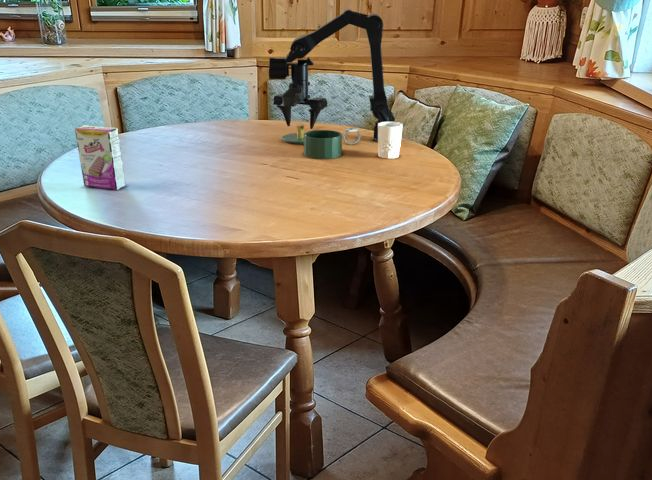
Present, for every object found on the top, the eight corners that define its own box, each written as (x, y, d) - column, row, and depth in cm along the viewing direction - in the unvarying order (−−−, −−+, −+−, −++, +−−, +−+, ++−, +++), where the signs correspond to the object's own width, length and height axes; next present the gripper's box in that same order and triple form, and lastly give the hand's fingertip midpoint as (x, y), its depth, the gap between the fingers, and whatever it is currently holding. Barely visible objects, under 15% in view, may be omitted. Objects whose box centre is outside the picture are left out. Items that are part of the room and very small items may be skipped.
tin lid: (325, 138, 257) (326, 123, 254) (307, 146, 247) (307, 131, 244) (293, 134, 262) (293, 120, 259) (274, 142, 252) (274, 127, 250)
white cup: (373, 157, 234) (374, 125, 229) (380, 152, 240) (382, 120, 235) (396, 160, 231) (398, 127, 226) (403, 154, 237) (405, 122, 232)
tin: (347, 152, 240) (348, 132, 237) (330, 160, 231) (330, 140, 228) (315, 148, 245) (315, 128, 242) (297, 156, 236) (297, 136, 233)
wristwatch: (358, 142, 252) (358, 127, 249) (361, 144, 250) (361, 129, 247) (341, 143, 250) (341, 128, 248) (344, 145, 248) (344, 130, 245)
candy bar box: (83, 187, 208) (73, 128, 199) (93, 182, 212) (83, 124, 203) (117, 190, 205) (108, 131, 196) (126, 186, 209) (118, 127, 200)
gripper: (263, 81, 242) (265, 129, 250) (312, 85, 234) (312, 135, 242) (280, 76, 250) (281, 123, 258) (328, 80, 242) (327, 128, 251)
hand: (300, 127), depth 252 cm, fingers open, 9 cm apart
